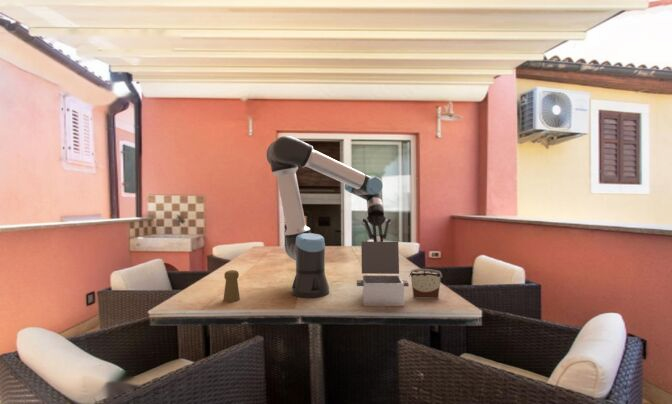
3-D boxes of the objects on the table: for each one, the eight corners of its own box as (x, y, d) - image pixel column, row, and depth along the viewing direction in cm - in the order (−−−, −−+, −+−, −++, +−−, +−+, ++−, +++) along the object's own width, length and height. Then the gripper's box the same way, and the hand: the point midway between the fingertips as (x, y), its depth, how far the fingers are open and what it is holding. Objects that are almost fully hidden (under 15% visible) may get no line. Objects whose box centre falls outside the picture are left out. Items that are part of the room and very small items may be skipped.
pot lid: (361, 241, 127) (361, 241, 128) (361, 273, 125) (361, 273, 126) (398, 241, 127) (397, 241, 128) (399, 273, 125) (398, 273, 125)
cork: (243, 299, 121) (242, 270, 121) (228, 303, 116) (228, 273, 116) (234, 296, 125) (234, 268, 125) (220, 299, 120) (220, 270, 120)
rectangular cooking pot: (357, 305, 113) (357, 283, 113) (356, 295, 125) (356, 275, 125) (410, 306, 112) (410, 283, 112) (404, 296, 124) (404, 275, 124)
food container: (438, 293, 127) (438, 268, 127) (442, 298, 121) (442, 272, 121) (407, 293, 128) (407, 268, 128) (409, 297, 122) (409, 271, 122)
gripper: (388, 215, 152) (393, 255, 136) (361, 215, 153) (363, 255, 136) (390, 203, 147) (395, 245, 130) (361, 204, 147) (363, 245, 131)
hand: (379, 250), depth 133 cm, fingers closed
